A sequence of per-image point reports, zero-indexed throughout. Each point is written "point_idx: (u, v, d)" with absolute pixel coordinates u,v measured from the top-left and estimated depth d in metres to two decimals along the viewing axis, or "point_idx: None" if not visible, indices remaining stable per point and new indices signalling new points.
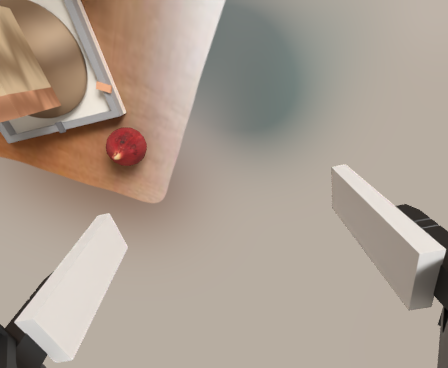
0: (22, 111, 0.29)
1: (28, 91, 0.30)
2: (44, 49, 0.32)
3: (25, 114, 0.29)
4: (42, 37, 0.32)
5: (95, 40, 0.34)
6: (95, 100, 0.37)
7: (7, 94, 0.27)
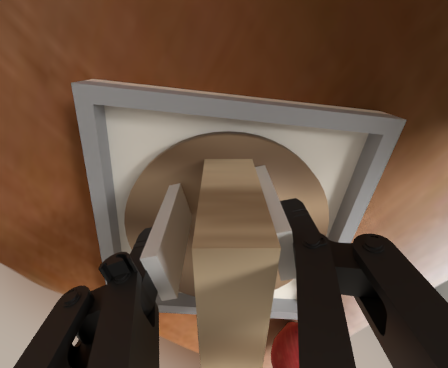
0: None
1: None
2: None
3: None
4: None
5: None
6: (284, 285, 0.23)
7: None
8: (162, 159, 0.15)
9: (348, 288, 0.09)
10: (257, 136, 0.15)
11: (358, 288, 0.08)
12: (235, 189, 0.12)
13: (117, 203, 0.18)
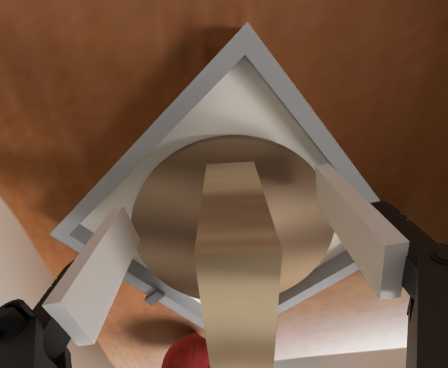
0: None
1: None
2: (276, 224, 0.18)
3: None
4: (285, 209, 0.17)
5: None
6: None
7: None
8: (164, 166, 0.15)
9: None
10: (257, 138, 0.15)
11: None
12: (237, 193, 0.12)
13: (159, 143, 0.16)
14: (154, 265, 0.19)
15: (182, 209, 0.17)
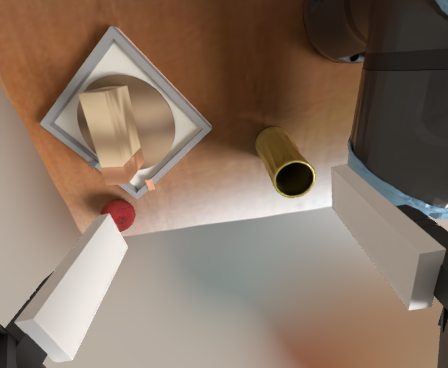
0: (128, 178, 0.34)
1: (131, 158, 0.35)
2: (145, 119, 0.38)
3: (129, 180, 0.34)
4: (147, 110, 0.37)
5: None
6: None
7: (123, 167, 0.32)
8: (88, 87, 0.35)
9: None
10: (128, 75, 0.35)
11: None
12: (107, 88, 0.32)
13: (87, 78, 0.36)
14: (91, 144, 0.39)
15: None
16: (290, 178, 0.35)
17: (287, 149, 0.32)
